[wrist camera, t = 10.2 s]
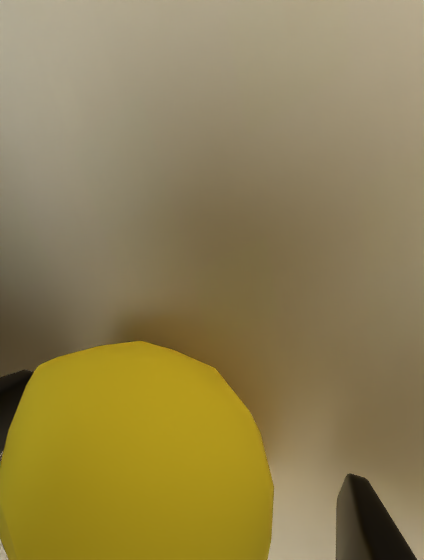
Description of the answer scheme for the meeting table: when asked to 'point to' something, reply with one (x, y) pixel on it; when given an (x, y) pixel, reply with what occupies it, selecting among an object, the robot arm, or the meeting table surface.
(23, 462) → the lemon
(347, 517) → the robot arm
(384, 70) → the meeting table surface
